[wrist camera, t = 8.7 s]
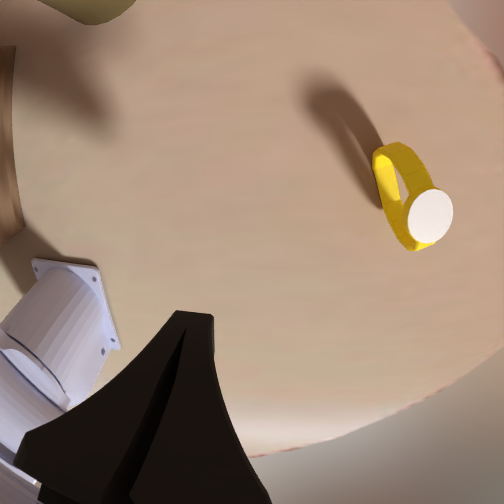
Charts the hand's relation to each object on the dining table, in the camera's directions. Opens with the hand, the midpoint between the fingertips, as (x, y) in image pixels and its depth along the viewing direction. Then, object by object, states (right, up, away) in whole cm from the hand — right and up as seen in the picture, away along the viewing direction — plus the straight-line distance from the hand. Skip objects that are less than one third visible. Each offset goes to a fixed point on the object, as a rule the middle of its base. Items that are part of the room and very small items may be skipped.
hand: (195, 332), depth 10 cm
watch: (+11, +7, +7) cm, 14 cm away
